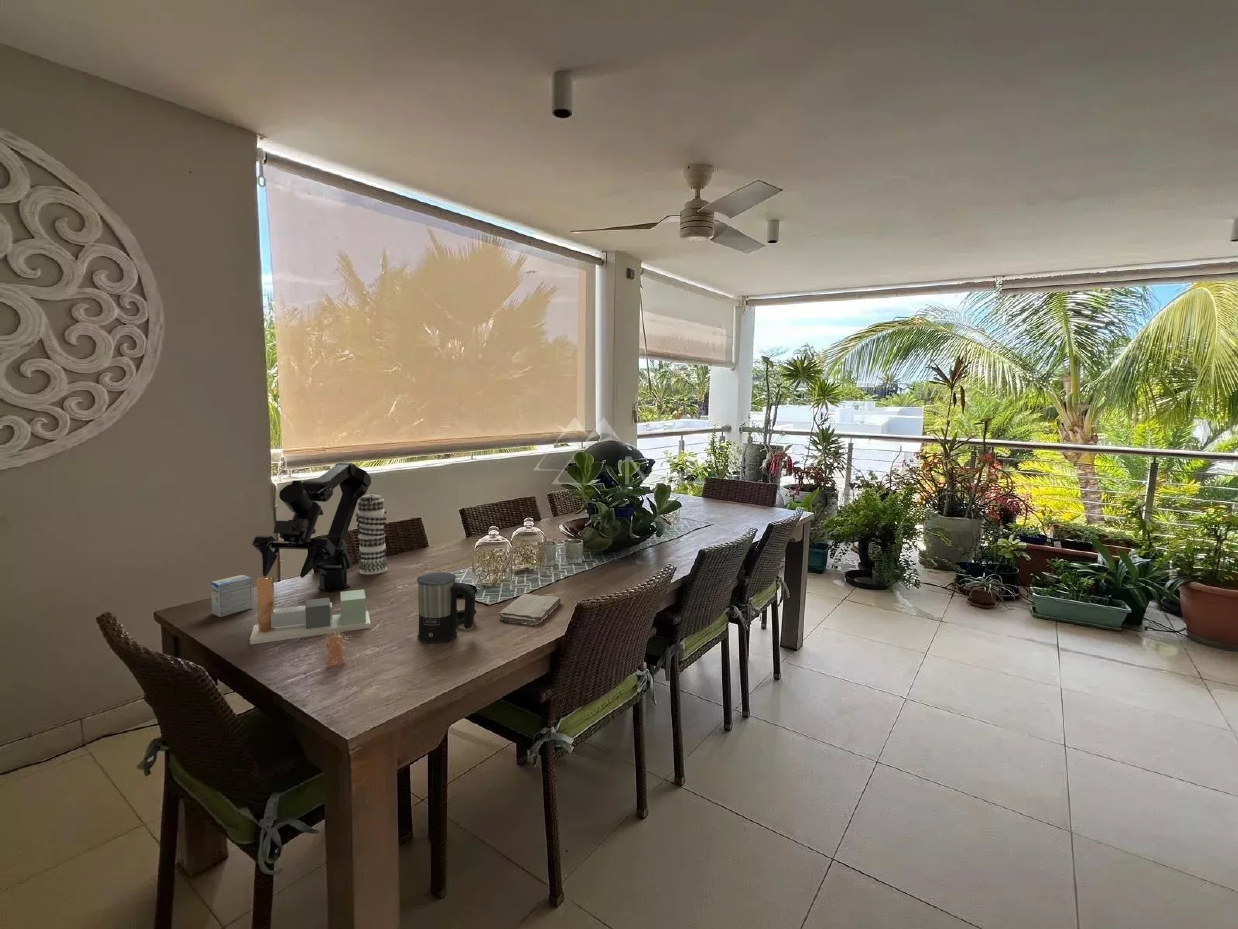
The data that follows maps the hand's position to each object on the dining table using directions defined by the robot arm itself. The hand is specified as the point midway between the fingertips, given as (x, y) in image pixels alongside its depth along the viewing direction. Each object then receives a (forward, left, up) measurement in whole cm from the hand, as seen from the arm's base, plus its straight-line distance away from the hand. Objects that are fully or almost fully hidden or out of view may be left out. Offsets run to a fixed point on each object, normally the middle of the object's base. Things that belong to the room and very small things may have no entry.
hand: (282, 576), depth 142 cm
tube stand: (-2, +9, -12) cm, 15 cm away
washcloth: (-44, +43, -13) cm, 63 cm away
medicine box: (+4, -18, -12) cm, 22 cm away
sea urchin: (+5, +31, -12) cm, 34 cm away
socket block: (-10, +14, -11) cm, 20 cm away
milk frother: (-22, +35, -12) cm, 43 cm away
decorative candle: (-39, -21, -12) cm, 46 cm away
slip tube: (+1, +7, -10) cm, 13 cm away
